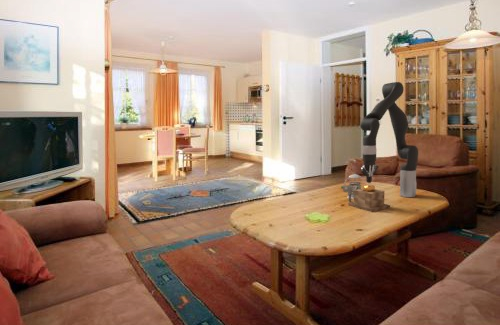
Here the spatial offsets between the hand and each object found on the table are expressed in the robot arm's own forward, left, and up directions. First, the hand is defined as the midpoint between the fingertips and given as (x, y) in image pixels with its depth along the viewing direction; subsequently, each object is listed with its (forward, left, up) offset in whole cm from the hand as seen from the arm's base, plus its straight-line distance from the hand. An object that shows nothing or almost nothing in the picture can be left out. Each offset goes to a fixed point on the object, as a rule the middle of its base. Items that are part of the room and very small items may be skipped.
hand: (369, 182), depth 203 cm
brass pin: (0, 0, -12) cm, 12 cm away
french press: (-10, -22, -15) cm, 28 cm away
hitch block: (0, 0, -14) cm, 14 cm away
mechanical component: (0, -15, -15) cm, 21 cm away
